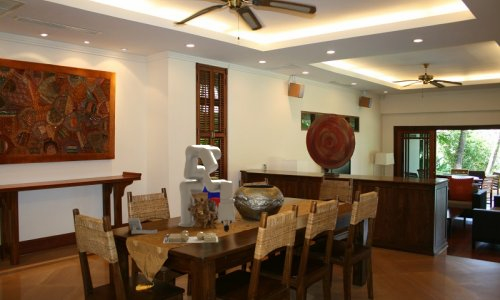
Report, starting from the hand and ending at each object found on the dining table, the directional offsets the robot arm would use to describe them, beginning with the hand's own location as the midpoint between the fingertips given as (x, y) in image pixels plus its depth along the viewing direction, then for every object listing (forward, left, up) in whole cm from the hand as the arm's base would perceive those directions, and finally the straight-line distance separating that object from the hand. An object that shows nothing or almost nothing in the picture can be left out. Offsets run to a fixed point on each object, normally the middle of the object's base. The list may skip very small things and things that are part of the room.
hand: (226, 231), depth 255 cm
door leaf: (0, -11, -5) cm, 12 cm away
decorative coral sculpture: (-43, -13, -5) cm, 45 cm away
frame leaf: (0, -29, -5) cm, 30 cm away
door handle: (-24, -52, -6) cm, 58 cm away
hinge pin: (0, -36, -5) cm, 36 cm away
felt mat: (0, -21, -5) cm, 22 cm away
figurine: (-85, -4, -5) cm, 86 cm away
